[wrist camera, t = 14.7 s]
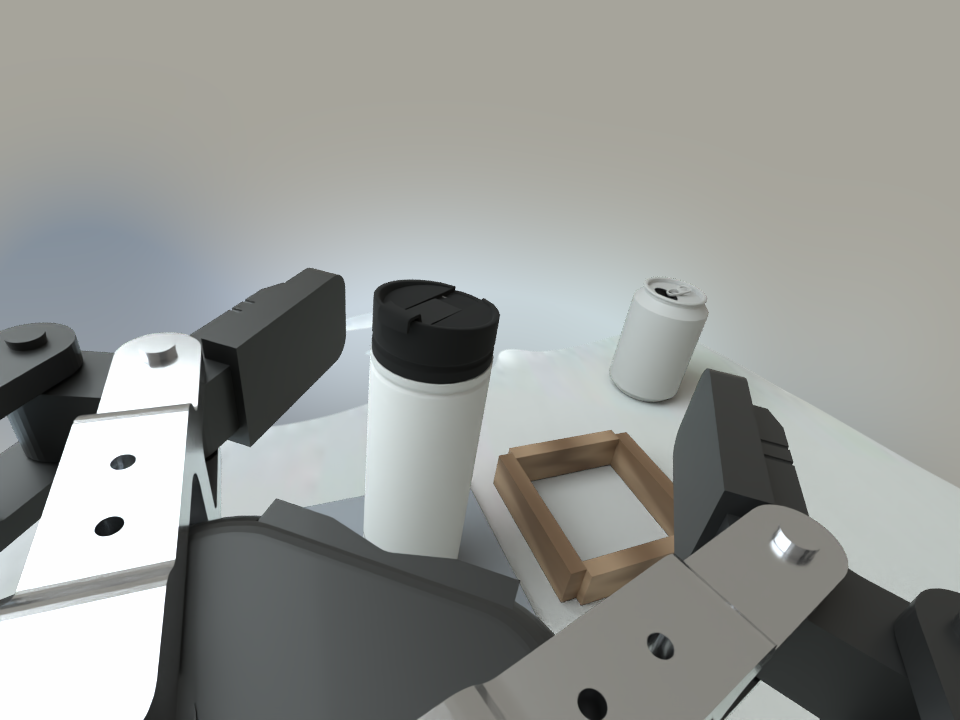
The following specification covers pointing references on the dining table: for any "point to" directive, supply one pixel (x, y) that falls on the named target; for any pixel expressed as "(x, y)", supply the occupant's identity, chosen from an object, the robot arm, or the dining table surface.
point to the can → (658, 338)
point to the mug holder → (546, 534)
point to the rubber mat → (474, 543)
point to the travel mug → (424, 413)
